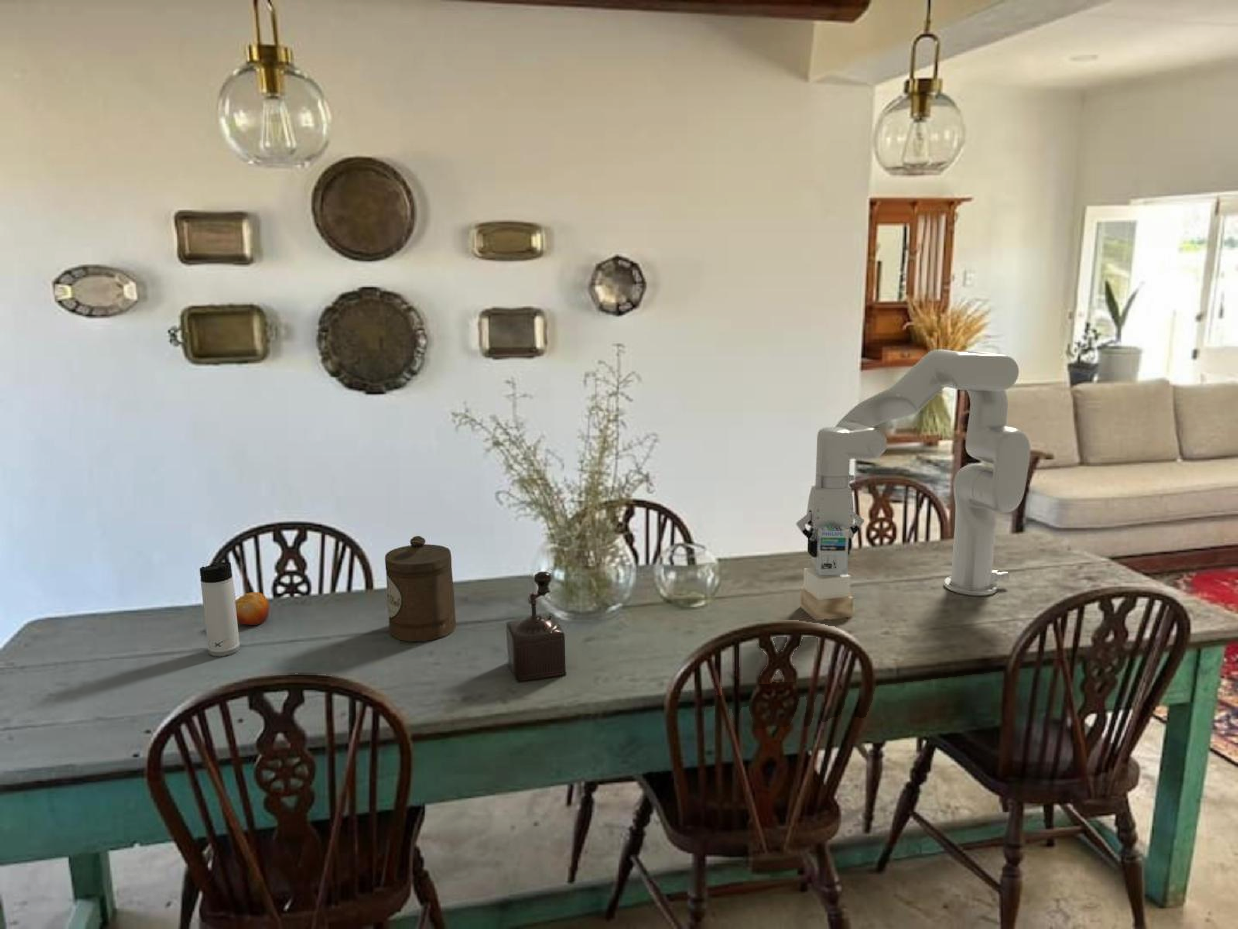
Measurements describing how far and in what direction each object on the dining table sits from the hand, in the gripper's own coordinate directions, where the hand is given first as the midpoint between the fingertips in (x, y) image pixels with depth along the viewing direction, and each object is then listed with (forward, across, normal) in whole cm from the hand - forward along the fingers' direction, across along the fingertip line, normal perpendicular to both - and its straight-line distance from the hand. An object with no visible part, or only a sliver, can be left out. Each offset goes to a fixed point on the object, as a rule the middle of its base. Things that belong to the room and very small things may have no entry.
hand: (829, 554), depth 219 cm
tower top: (+10, 0, 0) cm, 10 cm away
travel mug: (+14, +136, -7) cm, 137 cm away
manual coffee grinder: (+15, +71, +14) cm, 74 cm away
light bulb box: (+4, 0, 0) cm, 4 cm away
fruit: (+15, +133, -23) cm, 136 cm away
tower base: (+15, 0, 0) cm, 15 cm away
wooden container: (+15, +94, -10) cm, 96 cm away
